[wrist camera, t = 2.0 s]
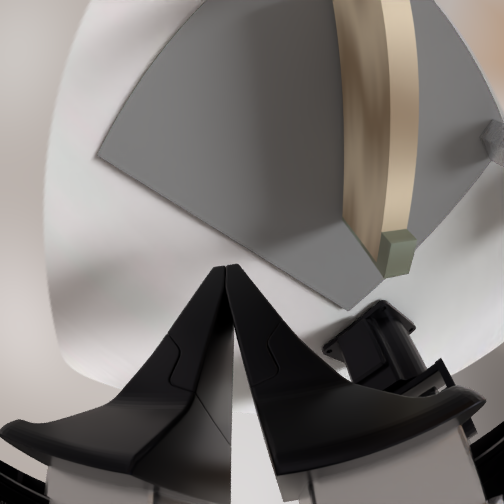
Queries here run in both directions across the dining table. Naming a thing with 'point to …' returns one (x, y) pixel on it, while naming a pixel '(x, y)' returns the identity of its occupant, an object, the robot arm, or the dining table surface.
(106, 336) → the dining table surface
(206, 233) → the dining table surface
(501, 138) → the gate posts
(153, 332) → the dining table surface
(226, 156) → the mat
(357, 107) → the gate
